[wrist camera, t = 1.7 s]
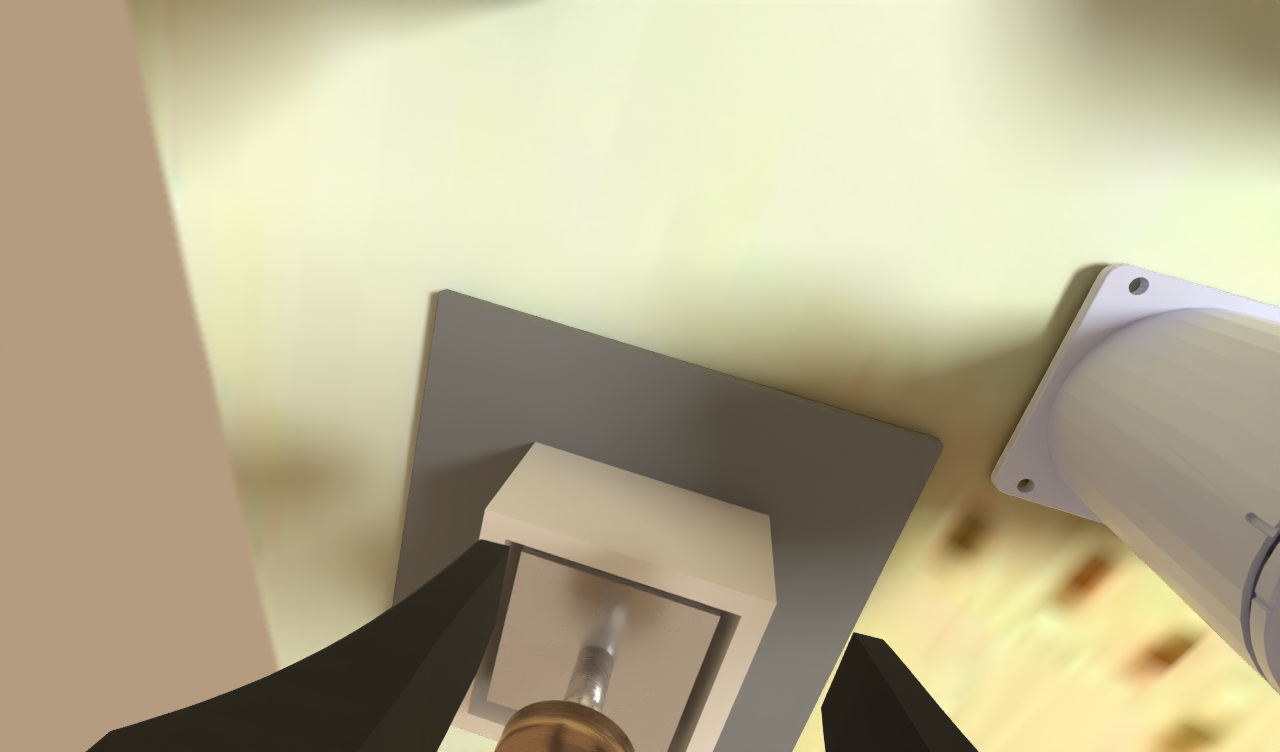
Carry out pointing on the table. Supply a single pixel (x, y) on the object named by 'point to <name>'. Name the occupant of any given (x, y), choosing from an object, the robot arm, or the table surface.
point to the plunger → (595, 659)
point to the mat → (669, 476)
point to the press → (636, 568)
